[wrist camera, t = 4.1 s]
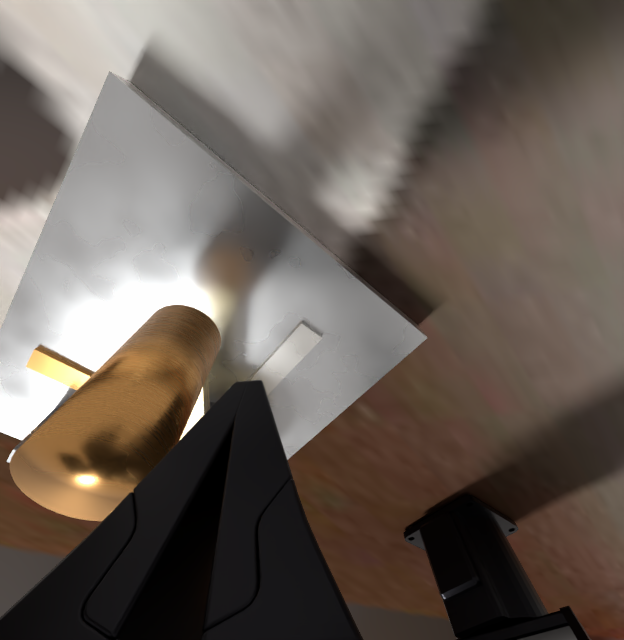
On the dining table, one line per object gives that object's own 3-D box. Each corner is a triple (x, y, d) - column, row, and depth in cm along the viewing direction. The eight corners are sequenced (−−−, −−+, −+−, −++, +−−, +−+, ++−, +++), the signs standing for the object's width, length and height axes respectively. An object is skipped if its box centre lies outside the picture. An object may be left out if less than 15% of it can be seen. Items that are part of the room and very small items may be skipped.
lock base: (418, 325, 15) (451, 369, 12) (224, 500, 21) (210, 560, 18) (129, 81, 10) (49, 41, 7) (-15, 400, 16) (-93, 459, 13)
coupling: (258, 515, 16) (239, 674, 11) (136, 510, 16) (57, 676, 10) (276, 312, 10) (254, 447, 5) (85, 292, 10) (-138, 422, 5)
